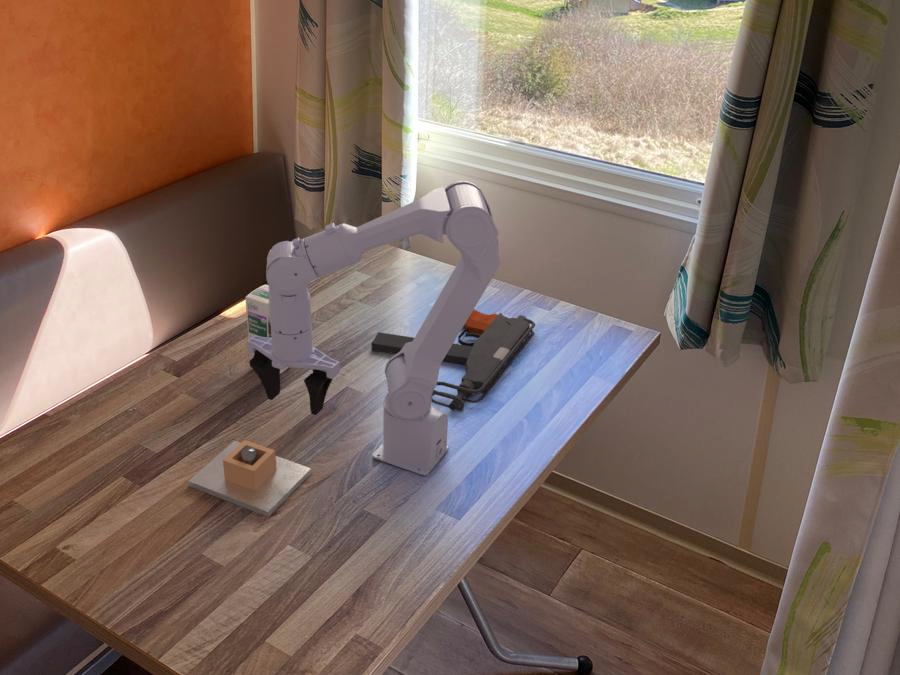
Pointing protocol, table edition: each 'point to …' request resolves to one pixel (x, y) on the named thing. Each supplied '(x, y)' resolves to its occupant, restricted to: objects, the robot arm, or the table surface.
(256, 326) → the syrup box
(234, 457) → the ring
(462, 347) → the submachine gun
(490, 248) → the robot arm
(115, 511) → the table surface
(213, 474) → the plate
